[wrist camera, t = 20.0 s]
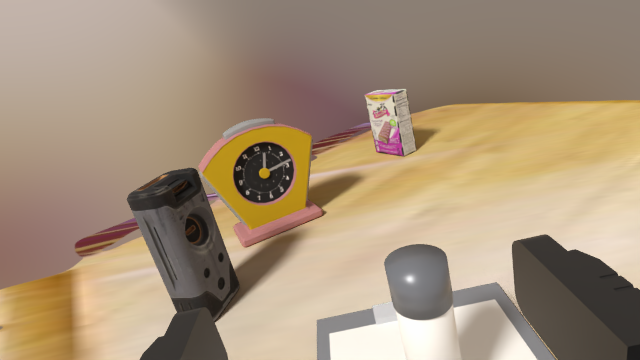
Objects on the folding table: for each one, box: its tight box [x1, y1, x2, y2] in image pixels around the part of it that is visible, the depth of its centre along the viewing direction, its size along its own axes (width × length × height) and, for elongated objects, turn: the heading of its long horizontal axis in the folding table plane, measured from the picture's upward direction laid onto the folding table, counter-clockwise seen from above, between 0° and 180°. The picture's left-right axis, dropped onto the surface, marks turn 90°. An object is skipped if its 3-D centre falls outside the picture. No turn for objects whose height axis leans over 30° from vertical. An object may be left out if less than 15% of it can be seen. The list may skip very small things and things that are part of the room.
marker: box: [384, 244, 462, 360], centre depth 31 cm, size 5×5×14 cm
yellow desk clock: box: [199, 119, 323, 247], centre depth 75 cm, size 22×9×22 cm, turn 114°
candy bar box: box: [365, 89, 416, 156], centre depth 101 cm, size 11×5×16 cm, turn 33°
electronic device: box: [127, 168, 239, 321], centre depth 54 cm, size 9×6×20 cm, turn 164°
